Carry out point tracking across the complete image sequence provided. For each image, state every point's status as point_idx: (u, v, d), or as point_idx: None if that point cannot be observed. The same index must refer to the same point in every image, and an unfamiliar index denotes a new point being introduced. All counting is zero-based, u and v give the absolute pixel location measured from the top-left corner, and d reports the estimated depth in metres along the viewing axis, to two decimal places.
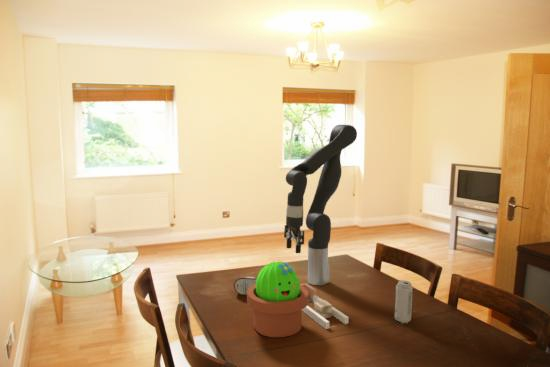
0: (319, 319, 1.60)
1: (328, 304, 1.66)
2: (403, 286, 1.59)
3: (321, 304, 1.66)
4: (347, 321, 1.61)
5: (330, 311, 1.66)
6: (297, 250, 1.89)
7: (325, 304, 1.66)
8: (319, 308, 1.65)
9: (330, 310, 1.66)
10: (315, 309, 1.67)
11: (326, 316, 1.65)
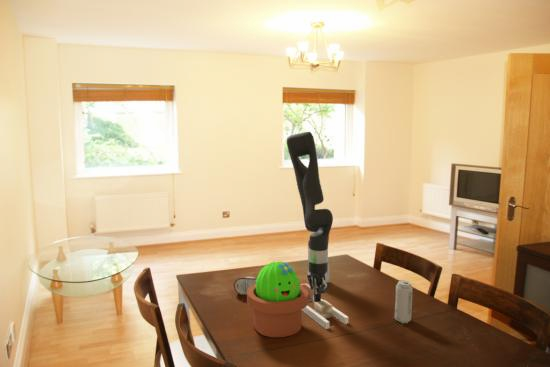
0: (319, 319, 1.60)
1: (328, 304, 1.66)
2: (403, 286, 1.59)
3: (321, 304, 1.66)
4: (347, 321, 1.61)
5: (330, 311, 1.66)
6: (317, 300, 1.69)
7: (325, 304, 1.66)
8: (319, 308, 1.64)
9: (330, 310, 1.66)
10: (315, 309, 1.67)
11: (326, 316, 1.65)
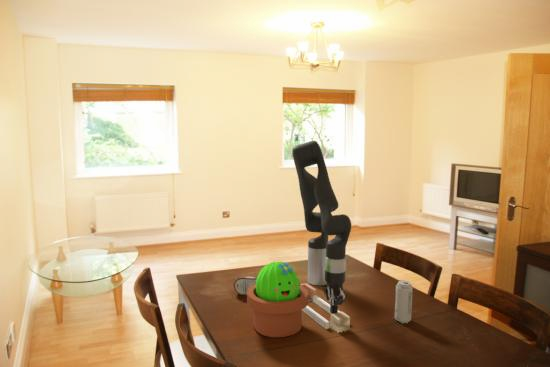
0: (319, 319, 1.60)
1: (346, 316, 1.56)
2: (403, 286, 1.59)
3: (338, 316, 1.55)
4: None
5: (348, 324, 1.55)
6: (333, 311, 1.58)
7: (343, 316, 1.55)
8: (336, 320, 1.54)
9: (348, 323, 1.55)
10: (332, 321, 1.57)
11: (344, 329, 1.55)
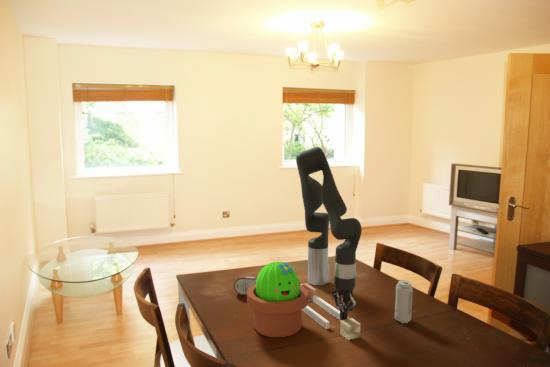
0: (319, 319, 1.60)
1: (356, 323, 1.50)
2: (403, 286, 1.59)
3: (348, 323, 1.50)
4: None
5: (358, 331, 1.50)
6: (343, 318, 1.53)
7: (353, 323, 1.50)
8: (346, 327, 1.49)
9: (358, 330, 1.50)
10: (342, 328, 1.52)
11: (354, 336, 1.50)
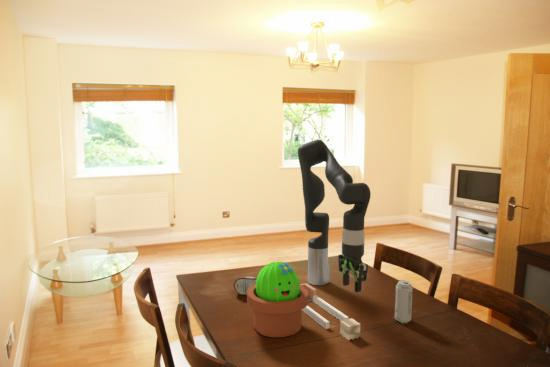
0: (319, 319, 1.60)
1: (356, 323, 1.50)
2: (403, 286, 1.59)
3: (348, 323, 1.50)
4: None
5: (358, 331, 1.50)
6: (357, 288, 1.45)
7: (353, 324, 1.50)
8: (346, 328, 1.49)
9: (358, 330, 1.50)
10: (342, 329, 1.52)
11: (354, 337, 1.50)
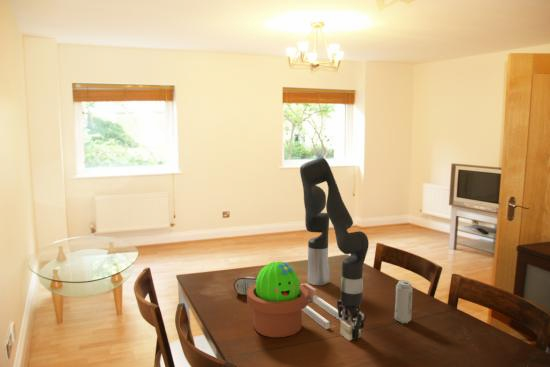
0: (319, 319, 1.60)
1: None
2: (403, 286, 1.59)
3: (349, 323, 1.50)
4: None
5: (359, 331, 1.50)
6: (354, 335, 1.48)
7: None
8: (347, 328, 1.49)
9: (359, 330, 1.50)
10: (342, 329, 1.51)
11: None
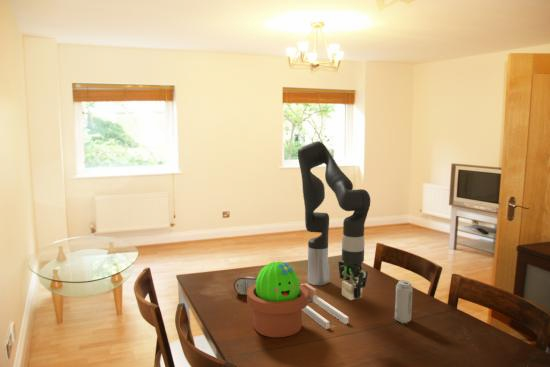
0: (319, 319, 1.60)
1: None
2: (403, 286, 1.59)
3: (350, 283, 1.48)
4: (347, 321, 1.61)
5: (361, 291, 1.48)
6: (356, 295, 1.46)
7: None
8: (348, 287, 1.47)
9: (361, 289, 1.48)
10: (343, 289, 1.49)
11: None
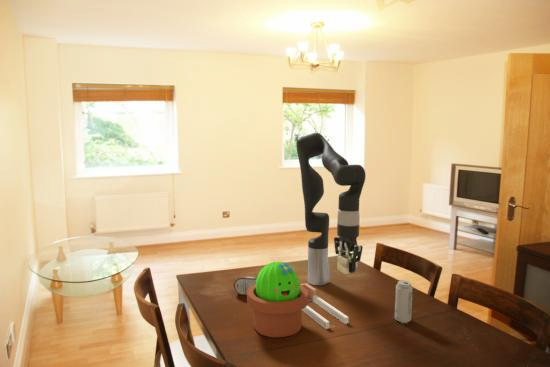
0: (319, 319, 1.60)
1: None
2: (403, 286, 1.59)
3: (346, 258, 1.49)
4: (347, 321, 1.61)
5: (356, 265, 1.49)
6: (351, 269, 1.47)
7: None
8: (344, 261, 1.48)
9: (356, 264, 1.49)
10: (339, 263, 1.51)
11: None
